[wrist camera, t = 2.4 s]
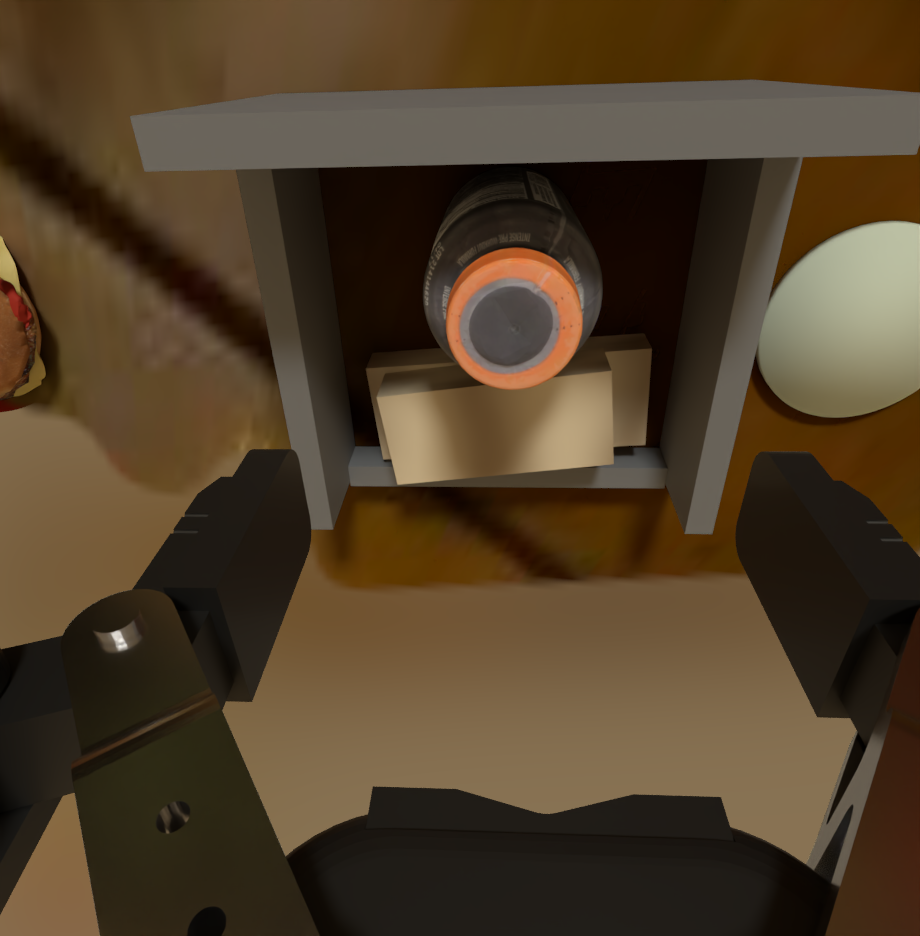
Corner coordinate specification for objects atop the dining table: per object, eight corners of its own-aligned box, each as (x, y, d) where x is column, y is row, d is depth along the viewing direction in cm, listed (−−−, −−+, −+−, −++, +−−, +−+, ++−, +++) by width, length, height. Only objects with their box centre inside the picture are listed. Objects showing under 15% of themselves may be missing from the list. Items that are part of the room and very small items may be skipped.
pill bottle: (564, 311, 29) (595, 431, 20) (437, 299, 29) (407, 414, 20) (588, 170, 26) (639, 234, 17) (444, 157, 26) (413, 213, 17)
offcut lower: (641, 328, 30) (652, 348, 28) (636, 420, 33) (645, 445, 31) (374, 347, 31) (365, 368, 29) (390, 434, 34) (383, 459, 32)
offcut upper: (603, 347, 28) (611, 370, 26) (605, 436, 31) (613, 464, 29) (385, 373, 29) (376, 397, 27) (404, 456, 32) (397, 484, 30)
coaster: (1005, 218, 26) (1014, 222, 26) (924, 411, 31) (931, 417, 31) (781, 222, 27) (786, 225, 26) (736, 411, 32) (740, 417, 31)
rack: (753, 79, 24) (936, 94, 14) (679, 467, 34) (756, 642, 23) (277, 93, 25) (129, 116, 15) (336, 465, 35) (269, 631, 25)
